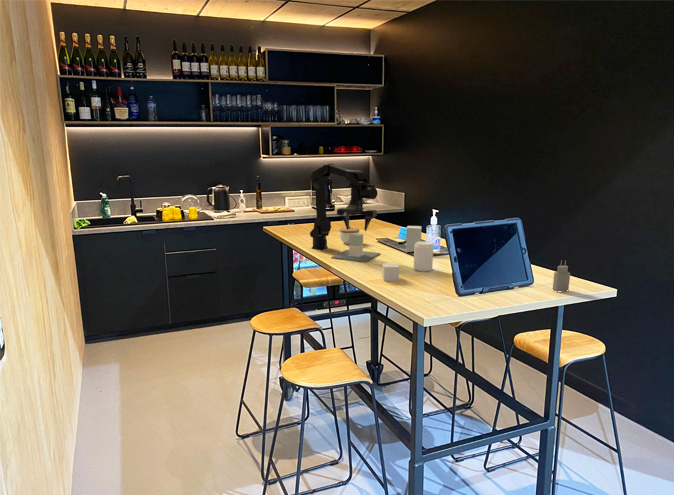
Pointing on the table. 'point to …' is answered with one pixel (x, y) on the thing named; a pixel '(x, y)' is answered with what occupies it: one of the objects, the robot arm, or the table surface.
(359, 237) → the sage block
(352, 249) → the cream block
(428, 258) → the beverage can
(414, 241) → the supplement box
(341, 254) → the mat
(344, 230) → the lidded jar
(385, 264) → the pinkish grey cube
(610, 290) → the table surface
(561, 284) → the power adapter
